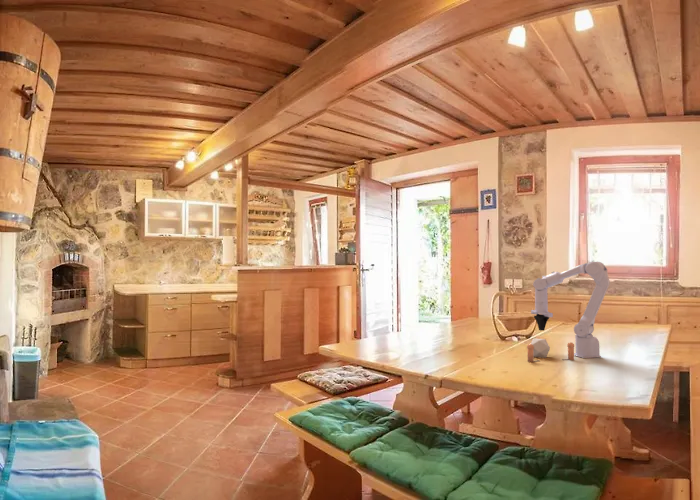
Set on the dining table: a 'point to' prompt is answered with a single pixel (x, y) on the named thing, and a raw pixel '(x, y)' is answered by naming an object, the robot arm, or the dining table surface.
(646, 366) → the dining table surface
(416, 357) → the dining table surface
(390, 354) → the dining table surface
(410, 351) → the dining table surface
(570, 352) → the pair of orange pieces
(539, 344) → the die
